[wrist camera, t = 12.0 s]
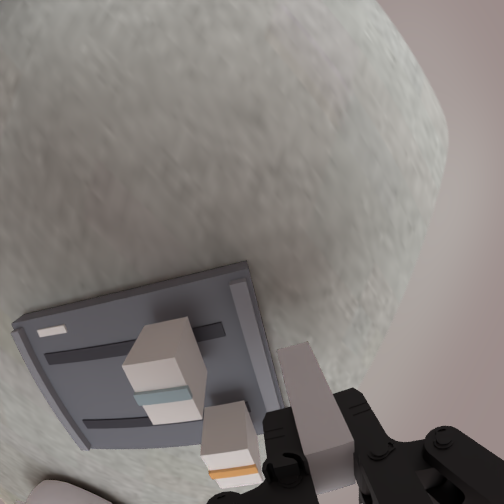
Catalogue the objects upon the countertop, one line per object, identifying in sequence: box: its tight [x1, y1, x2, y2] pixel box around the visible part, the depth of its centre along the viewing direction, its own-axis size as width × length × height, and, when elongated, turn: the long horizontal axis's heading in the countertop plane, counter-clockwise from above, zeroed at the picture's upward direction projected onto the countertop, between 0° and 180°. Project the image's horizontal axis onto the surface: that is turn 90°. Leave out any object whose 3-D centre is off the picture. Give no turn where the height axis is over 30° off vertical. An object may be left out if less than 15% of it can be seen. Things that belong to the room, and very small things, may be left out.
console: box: [11, 261, 285, 451], centre depth 21 cm, size 20×14×3 cm
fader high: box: [122, 316, 207, 425], centre depth 16 cm, size 3×4×6 cm
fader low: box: [200, 400, 263, 489], centre depth 18 cm, size 3×4×6 cm
